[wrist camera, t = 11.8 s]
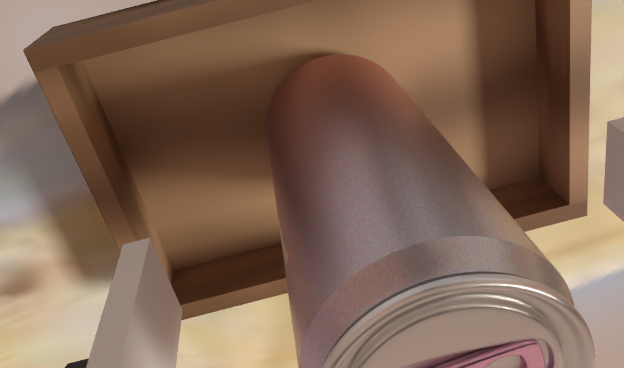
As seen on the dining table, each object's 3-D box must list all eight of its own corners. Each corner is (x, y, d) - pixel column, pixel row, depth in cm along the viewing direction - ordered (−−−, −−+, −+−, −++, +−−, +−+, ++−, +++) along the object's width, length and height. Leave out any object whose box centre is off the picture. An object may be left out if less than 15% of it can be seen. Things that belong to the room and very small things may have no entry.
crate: (52, 27, 22) (23, 50, 19) (542, -99, 22) (593, -97, 19) (164, 278, 28) (155, 326, 25) (547, 179, 28) (587, 215, 25)
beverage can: (417, 152, 25) (617, 439, 12) (293, 198, 26) (358, 527, 12) (381, 27, 22) (591, 225, 9) (242, 80, 23) (257, 345, 10)
